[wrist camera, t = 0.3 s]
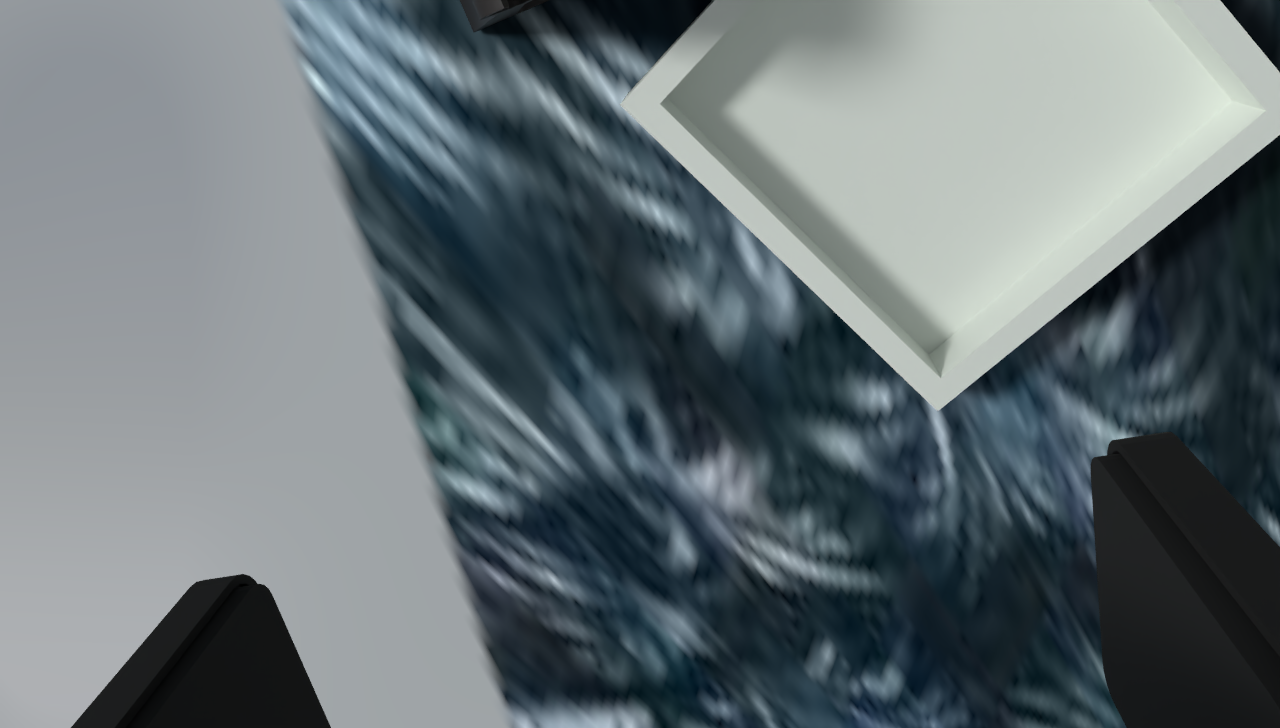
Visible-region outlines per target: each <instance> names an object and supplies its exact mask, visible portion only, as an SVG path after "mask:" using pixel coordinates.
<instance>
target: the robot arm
mask: <svg viewBox="0 0 1280 728" xmlns="http://www.w3.org/2000/svg"><path fill="white" fill-rule="evenodd" d="M1091 484H1092V500H1093V516H1094V532H1095V547H1096V563H1097V579H1098V595H1099V611H1100V626H1101V642H1102V658H1103V668H1104V674H1105V678H1106V682H1107V686H1108V689H1109V692H1110V694H1111V697H1112V699H1113V701H1114V704H1115V706H1116V708H1117V709H1118V711H1119V713H1120V715H1121V717H1122V719H1123V721H1124V723H1125V725H1126V727H1127V728H1280V547H1279V546H1278V545H1277V544H1276V543H1275V542H1274V541H1273V540H1272V538H1271V537H1270V536H1269V535H1268V534H1267V533H1266V532H1265V531H1264V530H1263V529H1262V528H1261V527H1260V525H1259V524H1258V523H1257V522H1256V521H1255V520H1254V519H1253V518H1252V517H1251V516H1250V515H1249V514H1248V513H1247V511H1246V510H1245V509H1244V508H1243V507H1242V506H1241V505H1240V504H1239V503H1238V502H1237V501H1236V500H1235V499H1234V497H1233V496H1232V495H1231V494H1230V493H1229V492H1228V491H1227V490H1226V489H1225V488H1224V487H1223V486H1222V484H1221V483H1220V482H1219V481H1218V480H1217V479H1216V478H1215V477H1214V476H1213V475H1212V474H1211V473H1210V472H1209V470H1208V469H1207V468H1206V467H1205V466H1204V465H1203V464H1202V463H1201V462H1200V461H1199V460H1198V459H1197V458H1196V456H1195V455H1194V454H1193V453H1192V452H1191V451H1190V450H1189V449H1188V448H1187V447H1186V446H1185V445H1184V443H1183V442H1182V441H1181V440H1180V439H1179V438H1178V437H1177V436H1176V435H1174V434H1173V433H1172V432H1164V433H1157V434H1151V435H1144V436H1138V437H1131V438H1125V439H1118V440H1112V441H1111V442H1110V444H1109V447H1108V451H1107V456H1100V457H1094V458H1093V459H1092V462H1091ZM71 728H331V727H330V725H329V723H328V720H327V718H326V716H325V713H324V711H323V709H322V707H321V705H320V702H319V700H318V698H317V695H316V693H315V691H314V688H313V686H312V684H311V682H310V679H309V677H308V675H307V673H306V670H305V668H304V666H303V663H302V661H301V659H300V657H299V654H298V652H297V650H296V648H295V645H294V643H293V641H292V639H291V636H290V634H289V632H288V630H287V628H286V625H285V623H284V621H283V618H282V616H281V614H280V612H279V609H278V607H277V605H276V603H275V600H274V598H273V596H272V594H271V592H270V590H269V589H268V588H267V587H266V586H265V585H262V584H257V583H256V581H255V580H254V579H253V578H251V577H250V576H248V575H244V574H241V575H236V576H229V577H222V578H215V579H209V580H203V581H199V582H196V583H195V584H193V585H192V586H191V587H190V588H189V589H188V590H187V592H186V593H185V594H184V595H183V596H182V597H181V599H180V600H179V601H178V602H177V604H175V606H174V607H173V608H172V609H171V611H170V612H169V613H168V614H167V615H166V616H165V617H164V619H163V620H162V621H161V622H160V623H159V625H158V626H157V627H156V628H155V629H154V630H153V632H152V633H151V634H150V635H149V636H148V637H147V639H146V640H145V641H144V642H143V644H142V645H141V646H140V647H139V648H138V649H137V650H136V652H135V653H134V654H133V655H132V656H131V658H130V659H129V660H128V661H127V662H126V664H125V665H124V666H123V667H122V668H121V669H120V670H119V672H118V673H117V674H116V675H115V676H114V678H113V679H112V680H111V681H110V682H109V683H108V685H107V686H106V687H105V688H104V689H103V690H102V692H101V693H100V694H99V695H98V696H97V698H96V699H95V700H94V701H93V702H92V704H91V705H90V706H89V707H88V708H87V709H86V710H85V712H84V713H83V714H82V715H81V716H80V718H79V719H78V720H77V721H76V722H75V724H74V725H73V726H72V727H71Z"/></svg>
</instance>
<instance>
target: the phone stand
mask: <svg viewBox="0 0 1280 728" xmlns="http://www.w3.org/2000/svg"><path fill="white" fill-rule="evenodd" d="M546 1H549V0H460V2H461V4H462V6H463V9H464V11H465V13H466V16H467V18H468V20H469V22H470V25H471V27H472V29H473V32H476V31H479V30H481V29H484V28H486V27H488V26H491V25H493V24H495V23H498V22H500V21H502V20H504V19H507V18H509V17H511V16H514V15H516V14H518V13H521V12H523V11H525V10H528V9H530V8H532V7H535V6H537V5H539V4H542V3H544V2H546Z"/></svg>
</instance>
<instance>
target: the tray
mask: <svg viewBox="0 0 1280 728" xmlns="http://www.w3.org/2000/svg"><path fill="white" fill-rule="evenodd" d="M620 105H621V106H622V107H623V108H624V109H625V110H626V111H627V112H628V113H629V114H630V115H631V116H632V117H633V118H634V119H635V120H636V121H637V122H638V123H639V124H640V125H641V126H642V127H643V128H644V129H646V130H647V131H648V132H649V133H650V134H651V135H652V136H653V137H654V138H655V139H656V140H657V141H658V142H659V143H660V144H661V145H662V146H663V147H664V148H665V149H666V150H667V151H668V152H669V153H670V154H671V155H672V156H674V157H675V158H676V159H677V160H678V161H679V162H680V163H681V164H682V165H683V166H684V167H685V168H686V169H687V170H688V171H689V172H690V173H691V174H692V175H693V176H694V177H695V178H696V179H697V180H698V181H699V182H700V183H702V184H703V185H704V186H705V187H706V188H707V189H708V190H709V191H710V192H711V193H712V194H713V195H714V196H715V197H716V198H717V199H718V200H719V201H720V202H721V203H722V204H723V205H724V206H725V207H726V208H727V209H728V210H730V211H731V212H732V213H733V214H734V215H735V216H736V217H737V218H738V219H739V220H740V221H741V222H742V223H743V224H744V225H745V226H746V227H747V228H748V229H749V230H750V231H751V232H752V233H753V234H754V235H755V236H756V237H758V238H759V239H760V240H761V241H762V242H763V243H764V244H765V245H766V246H767V247H768V248H769V249H770V250H771V251H772V252H773V253H774V254H775V255H776V256H777V257H778V258H779V259H780V260H781V261H782V262H783V263H784V264H786V265H787V266H788V267H789V268H790V269H791V270H792V271H793V272H794V273H795V274H796V275H797V276H798V277H799V278H800V279H801V280H802V281H803V282H804V283H805V284H806V285H807V286H808V287H809V288H810V289H811V290H812V291H814V292H815V293H816V294H817V295H818V296H819V297H820V298H821V299H822V300H823V301H824V302H825V303H826V304H827V305H828V306H829V307H830V308H831V309H832V310H833V311H834V312H835V313H836V314H837V315H838V316H839V317H840V318H842V319H843V320H844V321H845V322H846V323H847V324H848V325H849V326H850V327H851V328H852V329H853V330H854V331H855V332H856V333H857V334H858V335H859V336H860V337H861V338H862V339H863V340H864V341H865V342H866V343H867V344H868V345H870V346H871V347H872V348H873V349H874V350H875V351H876V352H877V353H878V354H879V355H880V356H881V357H882V358H883V359H884V360H885V361H886V362H887V363H888V364H889V365H890V366H891V367H892V368H893V369H894V370H895V371H896V372H897V373H899V374H900V375H901V376H902V377H903V378H904V379H905V380H906V381H907V382H908V383H909V384H910V385H911V386H912V387H913V388H914V389H915V390H916V391H917V392H918V393H919V394H920V395H921V396H922V397H923V398H924V399H925V400H927V401H928V402H929V403H930V404H931V405H932V406H933V407H934V408H935V409H936V410H937V411H939V410H940V409H941V408H942V407H944V406H945V405H946V404H947V403H949V402H950V401H951V400H952V399H953V398H955V397H956V396H957V395H958V394H960V393H961V392H962V391H963V390H965V389H966V388H967V387H968V386H970V385H971V384H972V383H973V382H975V381H976V380H977V379H978V378H979V377H981V376H982V375H983V374H984V373H986V372H987V371H988V370H989V369H991V368H992V367H993V366H994V365H996V364H997V363H998V362H999V361H1000V360H1002V359H1003V358H1004V357H1005V356H1007V355H1008V354H1009V353H1010V352H1012V351H1013V350H1014V349H1015V348H1017V347H1018V346H1019V345H1020V344H1022V343H1023V342H1024V341H1025V340H1026V339H1028V338H1029V337H1030V336H1031V335H1033V334H1034V333H1035V332H1036V331H1038V330H1039V329H1040V328H1041V327H1043V326H1044V325H1045V324H1046V323H1047V322H1049V321H1050V320H1051V319H1052V318H1054V317H1055V316H1056V315H1057V314H1059V313H1060V312H1061V311H1062V310H1064V309H1065V308H1066V307H1067V306H1069V305H1070V304H1071V303H1072V302H1073V301H1075V300H1076V299H1077V298H1078V297H1080V296H1081V295H1082V294H1083V293H1085V292H1086V291H1087V290H1088V289H1090V288H1091V287H1092V286H1093V285H1094V284H1096V283H1097V282H1098V281H1099V280H1101V279H1102V278H1103V277H1104V276H1106V275H1107V274H1108V273H1109V272H1111V271H1112V270H1113V269H1114V268H1116V267H1117V266H1118V265H1119V264H1120V263H1122V262H1123V261H1124V260H1125V259H1127V258H1128V257H1129V256H1130V255H1132V254H1133V253H1134V252H1135V251H1137V250H1138V249H1139V248H1140V247H1141V246H1143V245H1144V244H1145V243H1146V242H1148V241H1149V240H1150V239H1151V238H1153V237H1154V236H1155V235H1156V234H1158V233H1159V232H1160V231H1161V230H1163V229H1164V228H1165V227H1166V226H1167V225H1169V224H1170V223H1171V222H1172V221H1174V220H1175V219H1176V218H1177V217H1179V216H1180V215H1181V214H1182V213H1184V212H1185V211H1186V210H1187V209H1188V208H1190V207H1191V206H1192V205H1193V204H1195V203H1196V202H1197V201H1198V200H1200V199H1201V198H1202V197H1203V196H1205V195H1206V194H1207V193H1208V192H1210V191H1211V190H1212V189H1213V188H1214V187H1216V186H1217V185H1218V184H1219V183H1221V182H1222V181H1223V180H1224V179H1226V178H1227V177H1228V176H1229V175H1231V174H1232V173H1233V172H1234V171H1235V170H1237V169H1238V168H1239V167H1240V166H1242V165H1243V164H1244V163H1245V162H1247V161H1248V160H1249V159H1250V158H1252V157H1253V156H1254V155H1255V154H1257V153H1258V152H1259V151H1260V150H1261V149H1263V148H1264V147H1265V146H1266V145H1268V144H1269V143H1270V142H1271V141H1273V140H1274V139H1275V138H1276V137H1278V136H1279V135H1280V72H1279V71H1278V70H1277V69H1276V67H1275V66H1274V65H1273V64H1272V62H1271V61H1270V60H1269V59H1268V58H1267V56H1266V55H1265V54H1264V53H1263V52H1262V50H1261V49H1260V48H1259V47H1258V46H1257V44H1256V43H1255V42H1254V41H1253V39H1252V38H1251V37H1250V36H1249V35H1248V33H1247V32H1246V31H1245V30H1244V29H1243V27H1242V26H1241V25H1240V24H1239V22H1238V21H1237V20H1236V19H1235V18H1234V16H1233V15H1232V14H1231V13H1230V12H1229V10H1228V9H1227V8H1226V7H1225V6H1224V4H1223V3H1222V2H1221V1H1220V0H712V1H711V2H710V3H709V5H708V6H707V7H706V8H705V9H704V10H703V11H702V12H701V13H700V15H699V16H698V17H697V18H696V19H695V20H694V21H693V22H692V23H691V24H690V26H689V27H688V28H687V29H686V30H685V31H684V32H683V33H682V34H681V36H680V37H679V38H678V39H677V40H676V41H675V42H674V43H673V44H672V45H671V47H670V48H669V49H668V50H667V51H666V52H665V53H664V54H663V55H662V56H661V58H660V59H659V60H658V61H657V62H656V63H655V64H654V65H653V66H652V68H651V69H650V70H649V71H648V72H647V73H646V74H645V75H644V76H643V77H642V79H641V80H640V81H639V82H638V83H637V84H636V85H635V86H634V87H633V89H632V90H631V91H630V92H629V93H628V94H627V96H626V97H625V98H624V100H623V101H622V103H621V104H620Z"/></svg>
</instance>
